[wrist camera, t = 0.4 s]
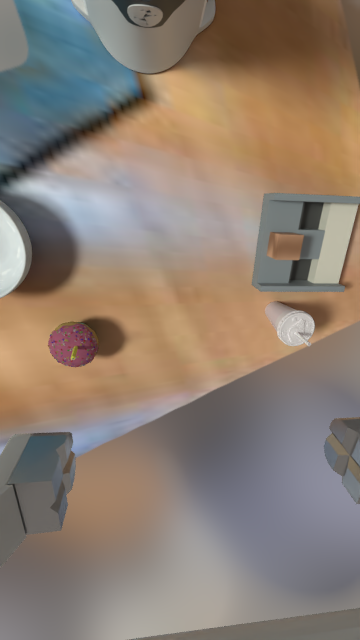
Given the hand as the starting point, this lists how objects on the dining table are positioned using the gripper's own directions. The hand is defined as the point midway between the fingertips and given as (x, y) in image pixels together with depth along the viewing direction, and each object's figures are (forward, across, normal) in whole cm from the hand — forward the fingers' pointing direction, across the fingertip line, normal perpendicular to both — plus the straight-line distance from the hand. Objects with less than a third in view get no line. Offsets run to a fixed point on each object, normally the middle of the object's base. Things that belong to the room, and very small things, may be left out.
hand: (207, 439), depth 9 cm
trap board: (+45, -26, -1) cm, 52 cm away
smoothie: (+45, -24, +13) cm, 52 cm away
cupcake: (+45, +15, +18) cm, 50 cm away
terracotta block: (+42, -21, -1) cm, 47 cm away
